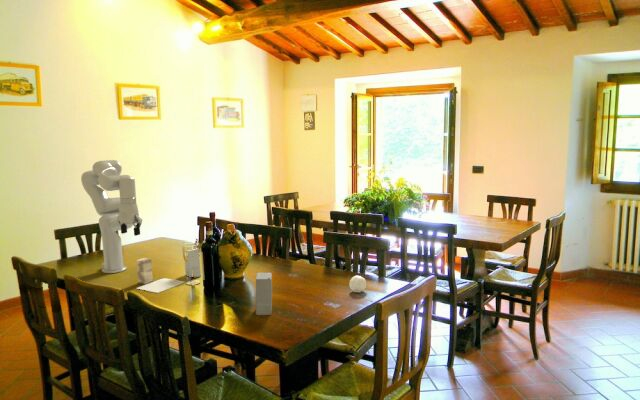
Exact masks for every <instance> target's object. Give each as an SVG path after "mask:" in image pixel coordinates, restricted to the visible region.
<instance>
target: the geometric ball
mask: <svg viewBox="0 0 640 400" xmlns="http://www.w3.org/2000/svg"><path fill="white" fill-rule="evenodd" d="M348 286H349V288H350V290H351V291H353V292H354V293H359V294H360V293H361V292H363V291H364V290H365V289H366V288H367V281H366V279H365V278H364V277H363V276H361V275H354V276H352V277H351V279H350V280H349V285H348Z"/></svg>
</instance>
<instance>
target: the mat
mask: <svg viewBox="0 0 640 400" xmlns="http://www.w3.org/2000/svg"><path fill="white" fill-rule="evenodd" d="M185 283H186V281H182V280H177V279H173V278H172V279H171V278H166V277H163V278H160V279H158V280H155V281H154V280H153V282H151V283H149V284H146V285H144V284H142V286H138V287H136V288H135V289H136V290H139V289H140V290H139V291H144V290H145V291H144V292H148V293H149V292H150V293H155V294H160V293H162V292H164V291H167V290H169V289H172V288H175V287H176V286H177V287H178V286H179V285H182V284H185Z"/></svg>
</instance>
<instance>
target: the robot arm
mask: <svg viewBox="0 0 640 400" xmlns="http://www.w3.org/2000/svg"><path fill="white" fill-rule="evenodd" d="M122 170H123V169H122V164H121V163H120V162H119V161H118V160H116V159H110V160H108V159H107V160H98V161H96V162H94V164H93V165H92V170H87V171H84V172H83V173H82V174H81V177H80V178H81V184H82V187H83V189H84V190H85V192H86V194H87V195H88V196H89V198H90V199H91V202H92V204H93V207H94V209H95V211H96V213H97V214H98V215H99V216H100V218H99V219H98V226H99V230H100V234H101V241H102V250H103V251H102V252H103V262H101V266H103V268H102V269H101V272H102V273H103V274H115V273H116V274H117V273H121V272H124V271H127V267H128V266H127V265H124V257H123V247H122V245H123V244H122V238H121V236H120V235H119V234H118V233H117V232H118V231H120V233H121V234H123V235H124V234H127V233H128V229H130V228H132V227H133V236H140V235H141V225H142V223H143V219H142V217H140V215H139V208H138V203H137V193H136V191H137V190H136V180H135V177H134V176H130V175H129V174H122ZM108 191H109V192H112V191H114V192H115V191H118V192H119V197H109V196H108V193H107V192H108Z"/></svg>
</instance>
